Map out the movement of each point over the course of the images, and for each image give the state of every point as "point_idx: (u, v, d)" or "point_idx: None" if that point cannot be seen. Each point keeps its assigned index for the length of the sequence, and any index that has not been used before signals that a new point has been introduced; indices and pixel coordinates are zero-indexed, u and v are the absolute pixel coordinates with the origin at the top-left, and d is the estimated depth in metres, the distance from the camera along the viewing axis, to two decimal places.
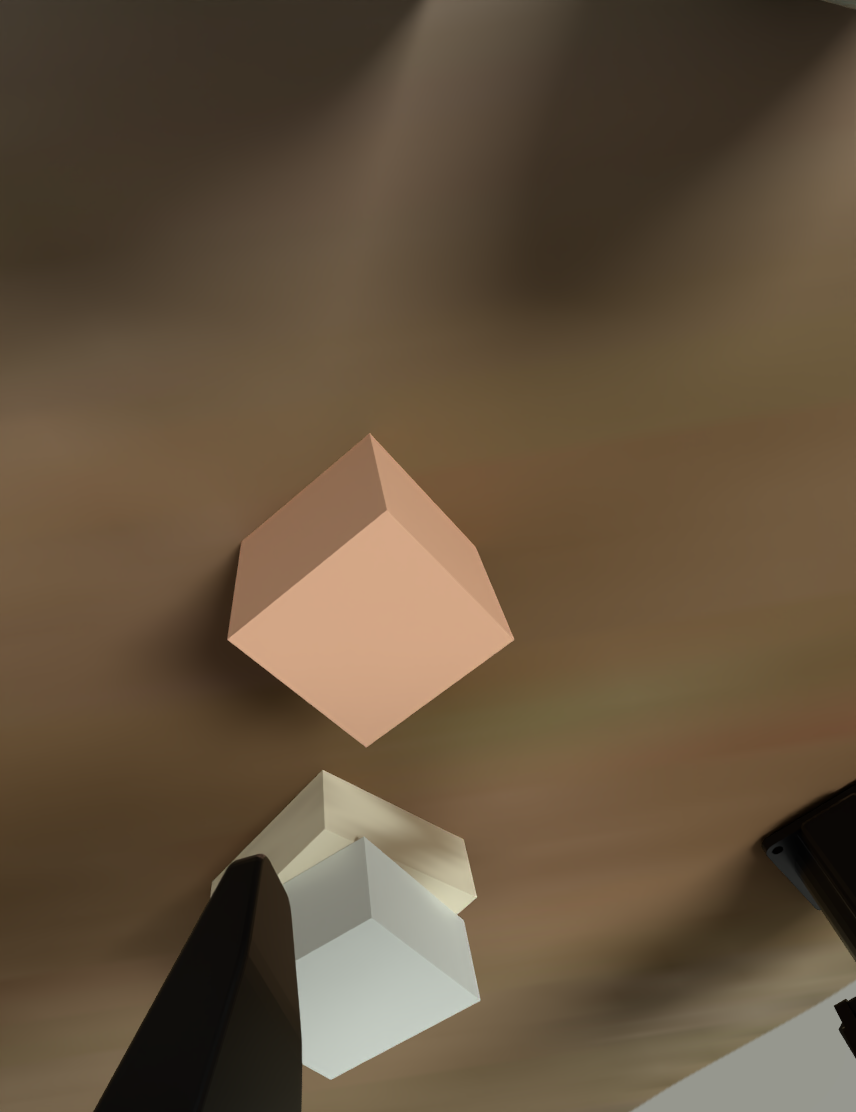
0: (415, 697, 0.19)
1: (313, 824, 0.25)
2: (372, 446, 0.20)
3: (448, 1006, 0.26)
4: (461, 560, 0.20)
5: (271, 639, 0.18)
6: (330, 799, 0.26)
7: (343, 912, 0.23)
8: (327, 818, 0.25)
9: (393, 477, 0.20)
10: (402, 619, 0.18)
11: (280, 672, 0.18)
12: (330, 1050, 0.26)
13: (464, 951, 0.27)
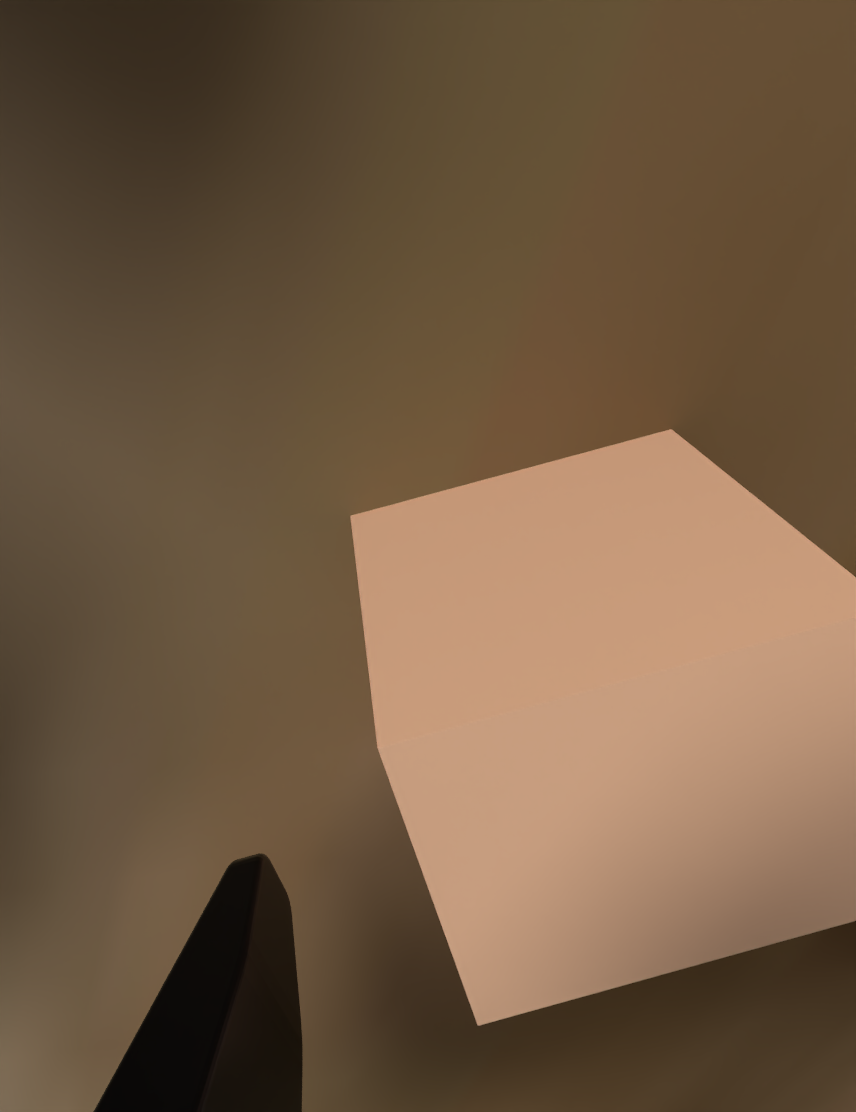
0: (837, 824, 0.09)
1: None
2: (355, 547, 0.10)
3: None
4: (643, 548, 0.09)
5: (524, 978, 0.09)
6: None
7: None
8: None
9: (414, 563, 0.10)
10: (649, 795, 0.08)
11: (596, 985, 0.09)
12: None
13: None
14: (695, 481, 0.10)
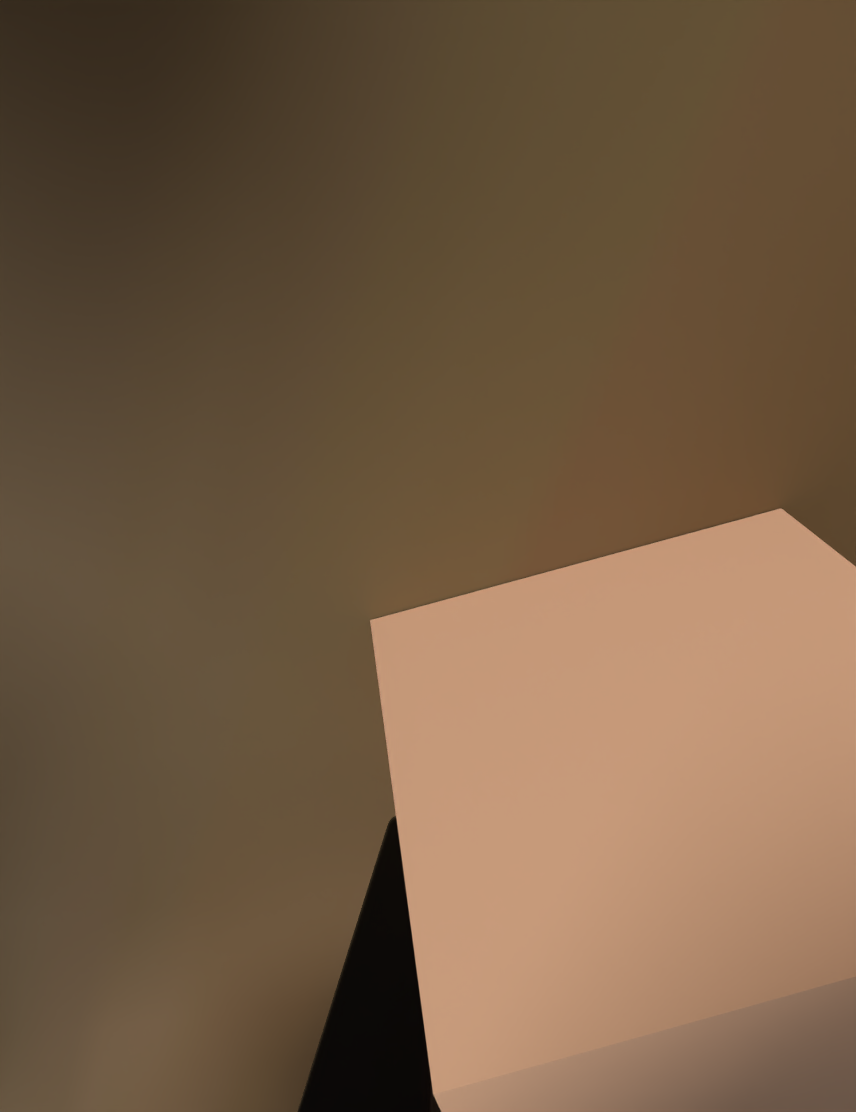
0: None
1: None
2: (378, 678, 0.08)
3: None
4: (791, 713, 0.06)
5: None
6: None
7: None
8: None
9: (461, 712, 0.07)
10: (825, 1108, 0.05)
11: None
12: None
13: None
14: (840, 598, 0.07)
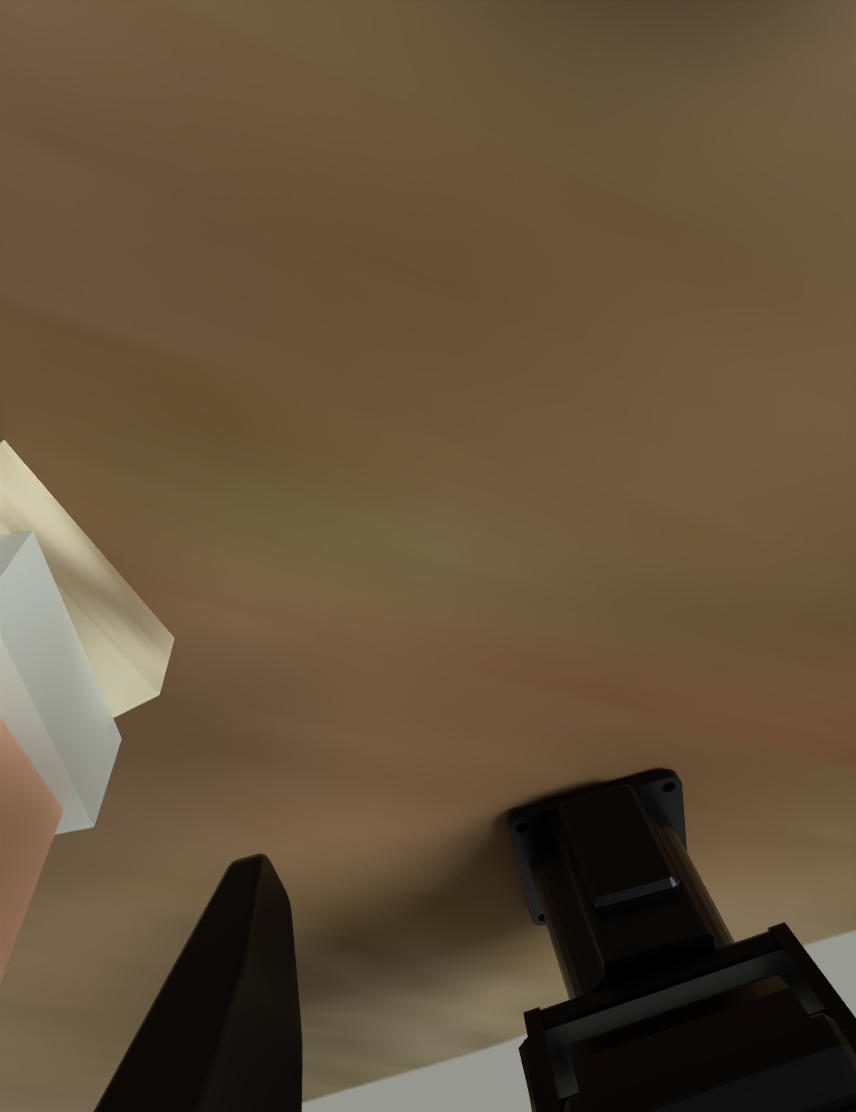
0: None
1: None
2: None
3: None
4: None
5: None
6: None
7: None
8: None
9: None
10: None
11: None
12: None
13: (103, 764, 0.19)
14: None
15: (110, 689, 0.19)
